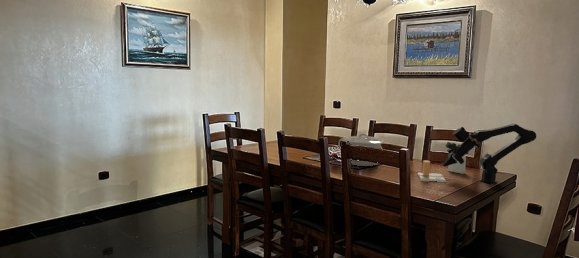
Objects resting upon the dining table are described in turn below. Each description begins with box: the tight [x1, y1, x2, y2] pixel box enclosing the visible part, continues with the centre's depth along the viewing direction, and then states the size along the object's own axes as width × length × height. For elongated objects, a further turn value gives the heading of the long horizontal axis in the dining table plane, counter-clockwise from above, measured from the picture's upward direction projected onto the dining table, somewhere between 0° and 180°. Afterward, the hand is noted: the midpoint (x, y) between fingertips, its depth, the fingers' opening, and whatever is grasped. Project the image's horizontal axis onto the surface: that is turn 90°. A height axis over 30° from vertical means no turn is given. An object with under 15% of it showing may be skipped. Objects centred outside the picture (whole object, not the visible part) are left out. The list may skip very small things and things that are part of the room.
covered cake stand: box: [338, 133, 386, 167], centre depth 261 cm, size 28×28×21 cm
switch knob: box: [422, 159, 431, 176], centre depth 229 cm, size 3×4×9 cm, turn 170°
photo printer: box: [447, 154, 467, 175], centre depth 246 cm, size 10×4×12 cm, turn 39°
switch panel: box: [417, 172, 446, 183], centre depth 230 cm, size 13×14×2 cm
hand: (443, 165), depth 228 cm, fingers closed
